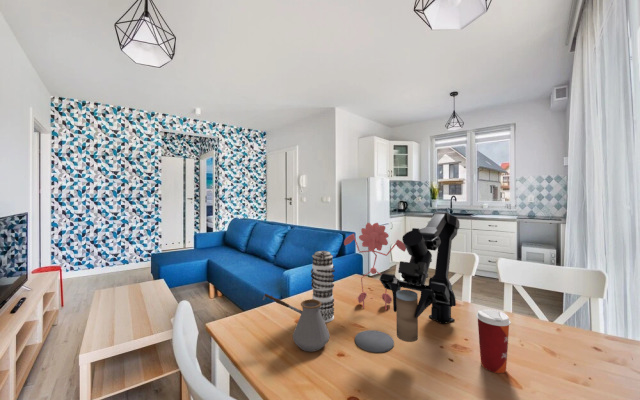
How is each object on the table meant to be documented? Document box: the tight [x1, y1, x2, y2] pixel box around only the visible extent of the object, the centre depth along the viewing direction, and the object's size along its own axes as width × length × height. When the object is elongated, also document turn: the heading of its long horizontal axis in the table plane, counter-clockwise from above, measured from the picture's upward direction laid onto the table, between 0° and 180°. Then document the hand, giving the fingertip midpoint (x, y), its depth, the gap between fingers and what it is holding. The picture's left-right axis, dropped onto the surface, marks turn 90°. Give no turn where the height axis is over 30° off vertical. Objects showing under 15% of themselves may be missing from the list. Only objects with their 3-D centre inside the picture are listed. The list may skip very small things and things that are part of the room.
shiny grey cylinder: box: [395, 289, 419, 343], centre depth 73 cm, size 6×6×12 cm
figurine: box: [343, 222, 407, 311], centre depth 114 cm, size 15×26×35 cm, turn 80°
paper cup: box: [475, 308, 512, 374], centre depth 70 cm, size 8×8×14 cm
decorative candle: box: [310, 250, 336, 324], centre depth 100 cm, size 9×9×25 cm
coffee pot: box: [262, 293, 330, 353], centre depth 82 cm, size 21×12×15 cm, turn 81°
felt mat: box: [354, 329, 395, 354], centre depth 83 cm, size 12×12×1 cm
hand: (404, 314), depth 72 cm, fingers closed on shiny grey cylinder, 6 cm apart
